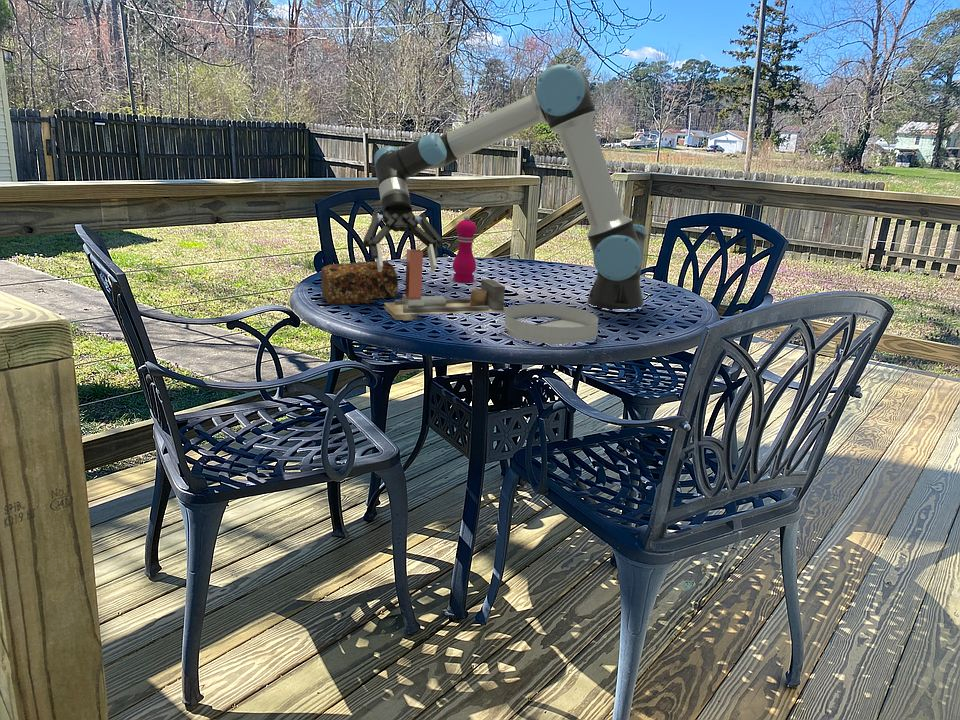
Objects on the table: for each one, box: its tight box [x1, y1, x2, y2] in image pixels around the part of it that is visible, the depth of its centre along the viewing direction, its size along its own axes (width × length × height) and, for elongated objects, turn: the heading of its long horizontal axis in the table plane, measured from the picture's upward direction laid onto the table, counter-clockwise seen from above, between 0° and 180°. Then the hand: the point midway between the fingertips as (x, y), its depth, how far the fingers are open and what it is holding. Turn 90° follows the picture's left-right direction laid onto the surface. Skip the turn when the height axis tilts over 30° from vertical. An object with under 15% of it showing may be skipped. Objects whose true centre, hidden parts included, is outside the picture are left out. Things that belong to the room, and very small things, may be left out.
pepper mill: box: [452, 214, 477, 283], centre depth 223 cm, size 7×7×20 cm
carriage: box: [401, 248, 447, 308], centre depth 182 cm, size 10×6×14 cm, turn 110°
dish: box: [503, 303, 599, 344], centre depth 172 cm, size 22×22×5 cm
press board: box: [382, 278, 508, 321], centre depth 186 cm, size 30×12×8 cm, turn 110°
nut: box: [470, 288, 487, 306], centre depth 188 cm, size 4×4×4 cm
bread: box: [320, 260, 399, 305], centre depth 193 cm, size 19×11×10 cm, turn 111°
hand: (407, 269), depth 182 cm, fingers open, 13 cm apart
